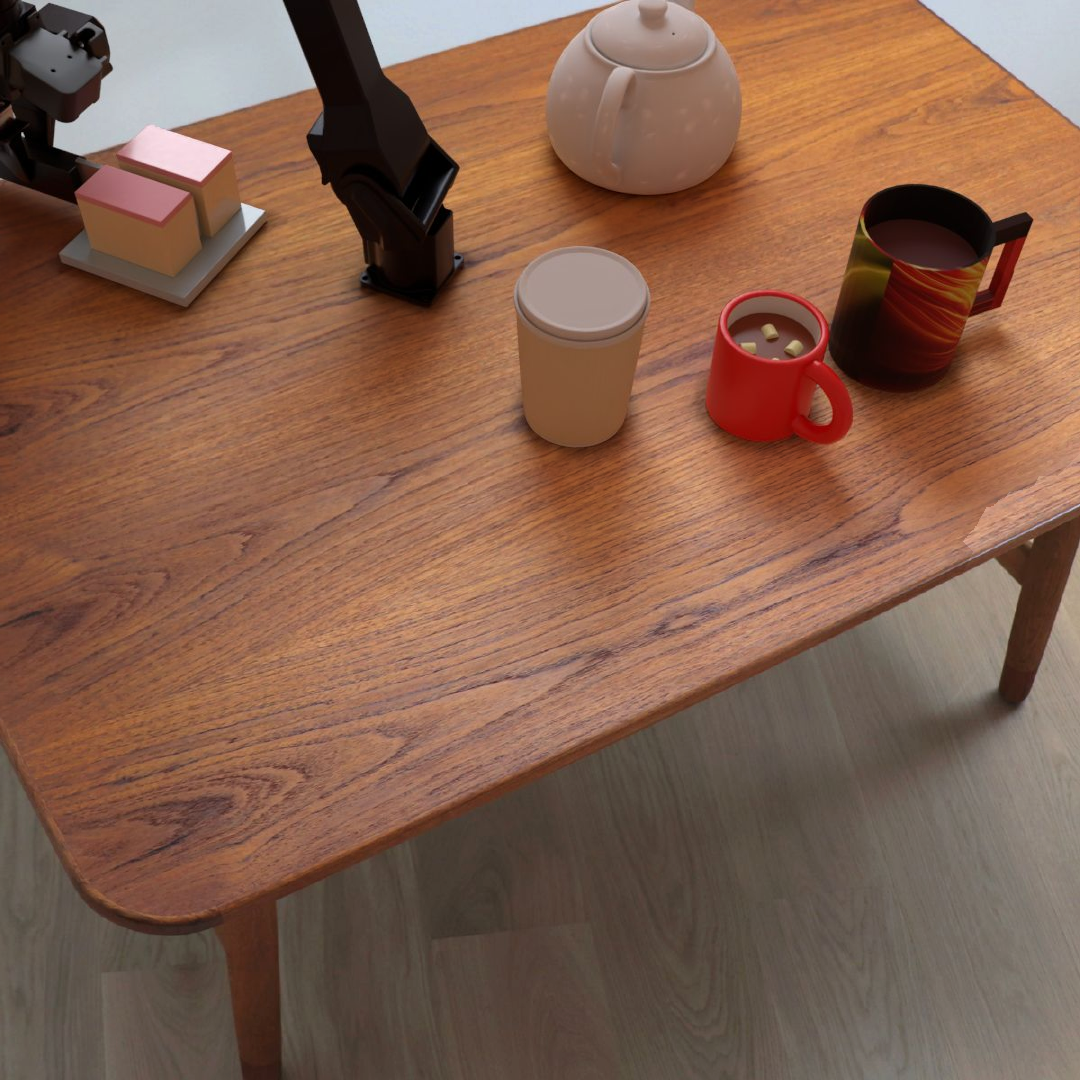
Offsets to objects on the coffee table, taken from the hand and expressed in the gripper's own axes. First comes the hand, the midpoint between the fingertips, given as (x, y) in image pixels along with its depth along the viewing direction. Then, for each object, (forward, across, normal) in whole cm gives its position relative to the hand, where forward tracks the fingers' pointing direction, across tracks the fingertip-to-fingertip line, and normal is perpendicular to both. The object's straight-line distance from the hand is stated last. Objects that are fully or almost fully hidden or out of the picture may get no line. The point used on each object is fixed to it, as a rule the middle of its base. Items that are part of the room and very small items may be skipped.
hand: (36, 172), depth 113 cm
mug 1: (+3, +3, -64) cm, 65 cm away
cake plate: (+2, 0, -12) cm, 13 cm away
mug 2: (+3, +16, -70) cm, 72 cm away
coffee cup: (+3, -3, -50) cm, 51 cm away
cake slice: (+2, -3, -12) cm, 13 cm away
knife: (+1, 0, -6) cm, 6 cm away
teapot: (+3, +29, -42) cm, 52 cm away
